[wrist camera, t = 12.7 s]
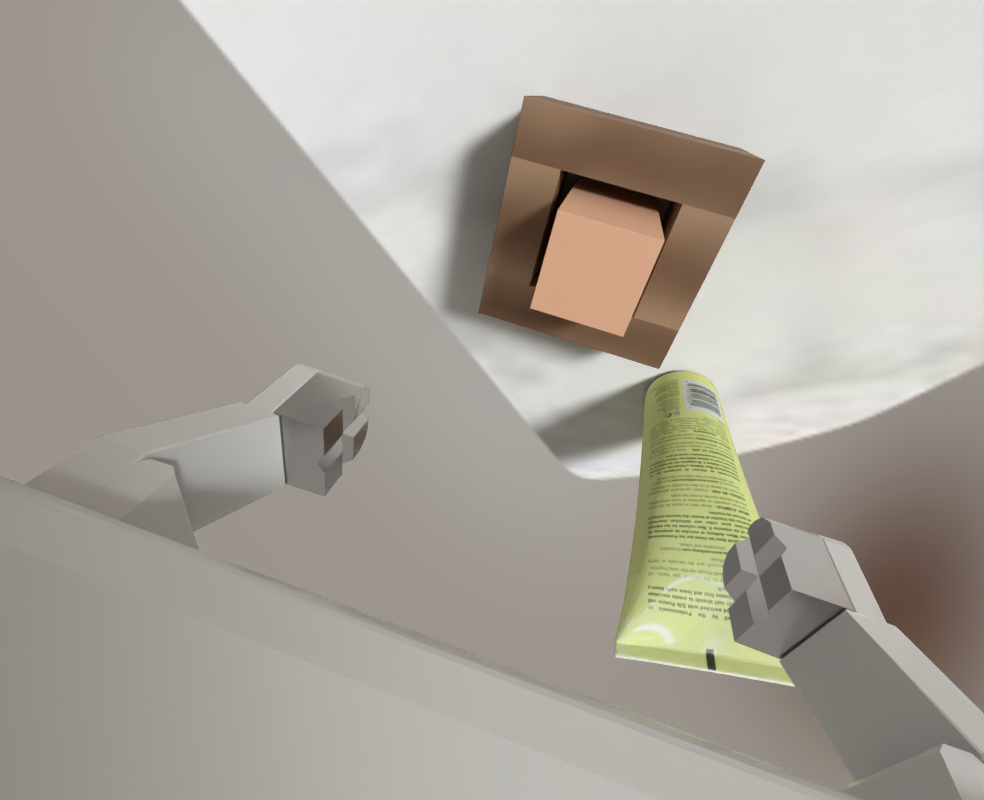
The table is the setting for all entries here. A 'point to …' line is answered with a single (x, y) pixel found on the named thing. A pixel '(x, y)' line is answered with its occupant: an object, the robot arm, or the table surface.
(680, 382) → the tube
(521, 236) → the socket block
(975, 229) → the table surface
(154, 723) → the robot arm
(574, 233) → the peg
